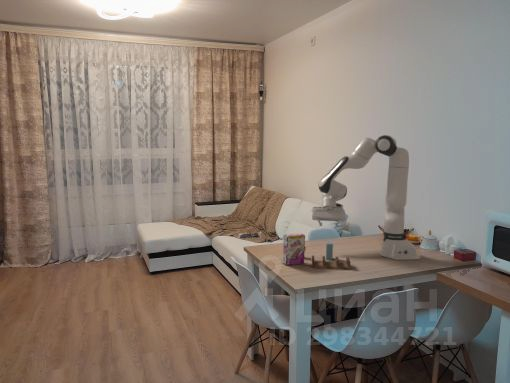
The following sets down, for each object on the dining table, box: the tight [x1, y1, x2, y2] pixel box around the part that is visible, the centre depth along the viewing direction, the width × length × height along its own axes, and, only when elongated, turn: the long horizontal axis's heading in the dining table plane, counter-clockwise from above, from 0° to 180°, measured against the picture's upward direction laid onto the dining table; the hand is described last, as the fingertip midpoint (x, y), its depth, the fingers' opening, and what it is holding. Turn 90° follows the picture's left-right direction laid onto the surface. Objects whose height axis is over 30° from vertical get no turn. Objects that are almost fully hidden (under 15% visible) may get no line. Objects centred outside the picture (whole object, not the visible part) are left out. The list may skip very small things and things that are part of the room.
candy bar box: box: [282, 232, 306, 266], centre depth 226 cm, size 11×5×16 cm, turn 111°
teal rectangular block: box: [325, 242, 334, 261], centre depth 237 cm, size 4×4×9 cm
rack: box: [311, 255, 351, 271], centre depth 224 cm, size 20×10×4 cm, turn 83°
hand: (328, 226), depth 248 cm, fingers open, 8 cm apart
